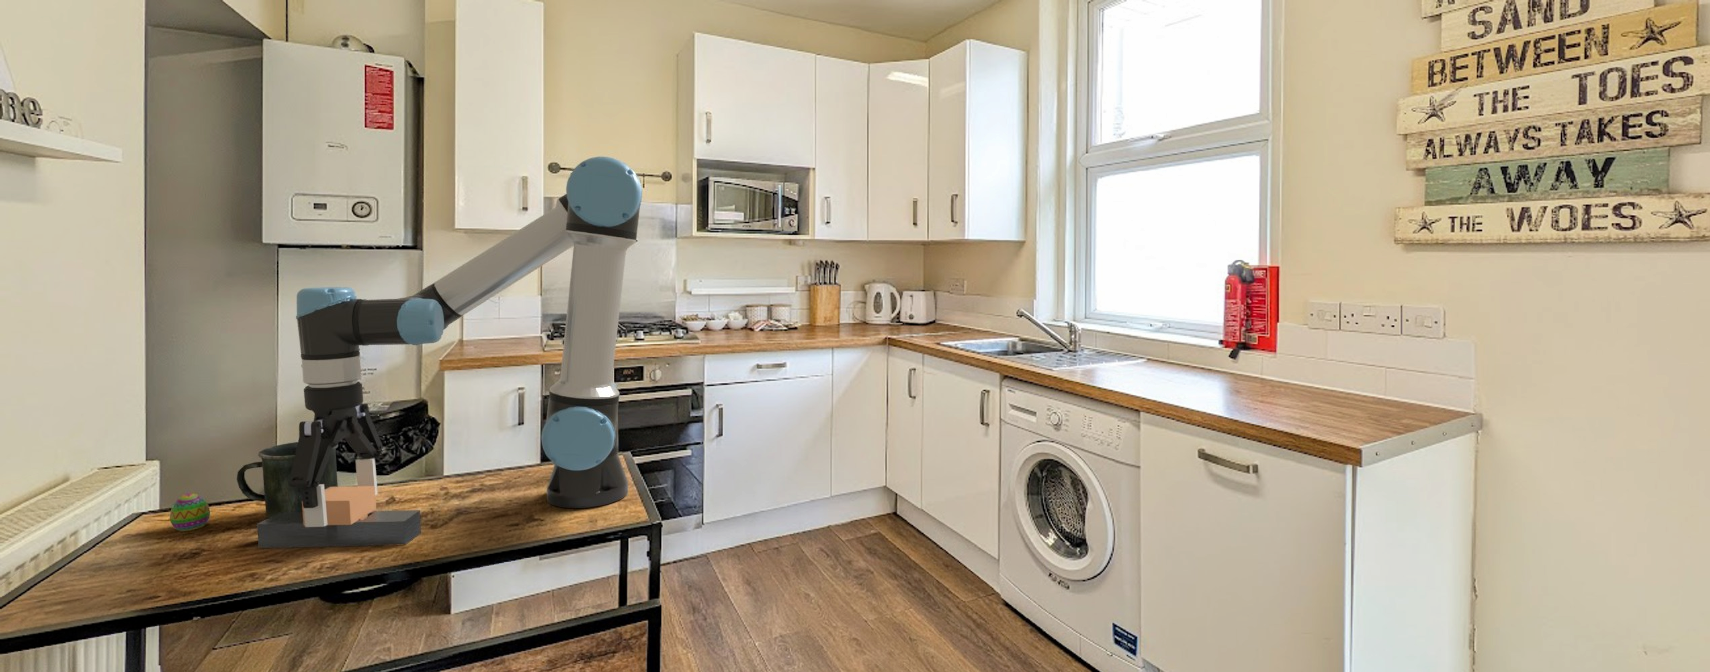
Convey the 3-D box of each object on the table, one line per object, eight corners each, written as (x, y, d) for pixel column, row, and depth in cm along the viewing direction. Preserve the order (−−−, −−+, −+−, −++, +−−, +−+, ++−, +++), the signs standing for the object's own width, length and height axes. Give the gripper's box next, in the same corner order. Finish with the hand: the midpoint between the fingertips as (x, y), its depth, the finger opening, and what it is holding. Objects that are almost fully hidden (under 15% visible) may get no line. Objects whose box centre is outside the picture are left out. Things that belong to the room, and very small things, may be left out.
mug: (333, 518, 123) (329, 453, 121) (228, 530, 116) (222, 461, 115) (348, 498, 132) (344, 438, 131) (252, 508, 126) (247, 445, 125)
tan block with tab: (304, 543, 109) (301, 501, 109) (332, 526, 116) (330, 486, 116) (352, 542, 110) (349, 500, 109) (377, 525, 117) (374, 486, 116)
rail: (421, 532, 117) (420, 510, 117) (405, 544, 112) (404, 521, 112) (280, 535, 115) (279, 512, 114) (258, 548, 110) (256, 524, 109)
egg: (217, 525, 118) (214, 491, 118) (181, 535, 114) (177, 500, 113) (201, 520, 120) (198, 487, 120) (164, 530, 116) (161, 496, 115)
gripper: (355, 370, 122) (364, 485, 125) (248, 399, 98) (263, 541, 100) (399, 369, 123) (408, 484, 126) (305, 398, 99) (318, 539, 101)
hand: (343, 510), depth 113 cm, fingers open, 13 cm apart
